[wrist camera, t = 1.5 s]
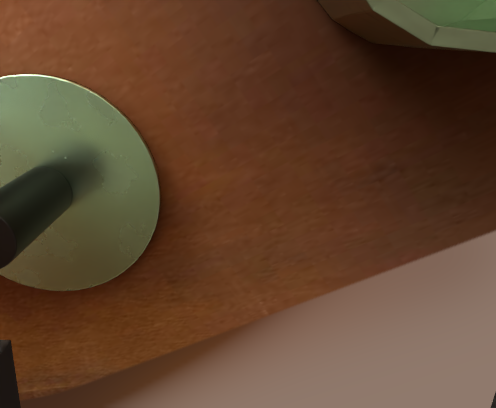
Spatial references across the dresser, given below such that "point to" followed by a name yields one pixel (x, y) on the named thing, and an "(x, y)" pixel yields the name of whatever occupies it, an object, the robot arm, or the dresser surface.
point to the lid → (71, 185)
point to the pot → (419, 22)
